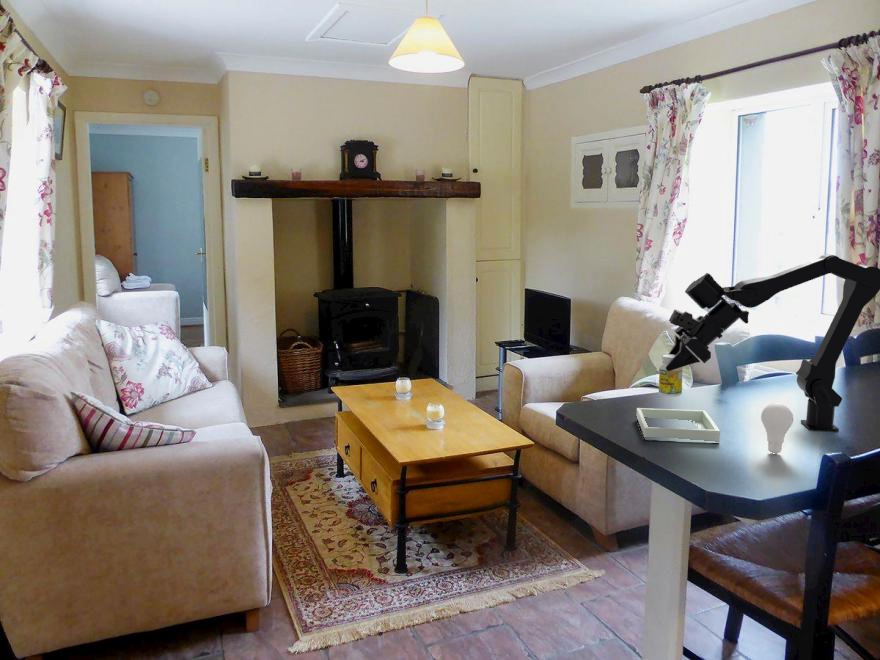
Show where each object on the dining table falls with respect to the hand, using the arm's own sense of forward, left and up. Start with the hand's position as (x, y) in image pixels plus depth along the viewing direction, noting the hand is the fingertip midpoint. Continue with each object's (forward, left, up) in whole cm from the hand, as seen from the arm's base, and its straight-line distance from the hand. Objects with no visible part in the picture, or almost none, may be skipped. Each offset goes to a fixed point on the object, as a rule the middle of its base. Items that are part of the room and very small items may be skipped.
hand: (665, 367), depth 172 cm
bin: (-9, -2, -13) cm, 16 cm away
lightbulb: (-22, -20, -13) cm, 32 cm away
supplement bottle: (0, -1, -7) cm, 7 cm away
